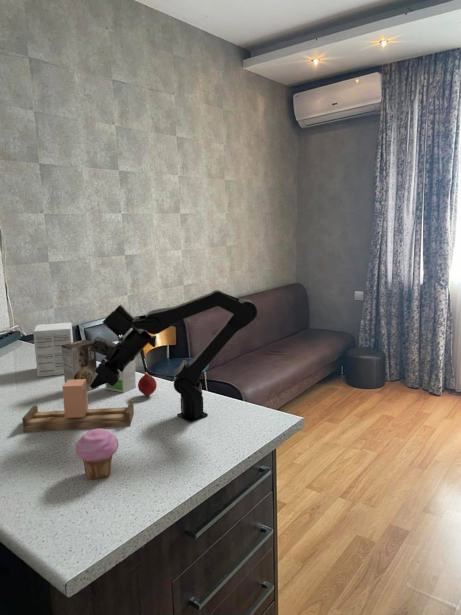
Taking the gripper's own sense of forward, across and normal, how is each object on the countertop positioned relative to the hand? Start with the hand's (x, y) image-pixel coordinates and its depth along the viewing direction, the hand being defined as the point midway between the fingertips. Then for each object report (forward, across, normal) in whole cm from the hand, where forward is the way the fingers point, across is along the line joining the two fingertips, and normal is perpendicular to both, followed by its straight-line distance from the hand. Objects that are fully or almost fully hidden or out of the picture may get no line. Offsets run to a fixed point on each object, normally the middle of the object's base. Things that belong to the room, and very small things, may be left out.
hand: (91, 387), depth 124 cm
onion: (-2, -18, +17) cm, 25 cm away
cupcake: (+2, +29, +12) cm, 31 cm away
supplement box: (+25, -52, -10) cm, 58 cm away
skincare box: (+4, -27, +10) cm, 29 cm away
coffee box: (+14, -28, +1) cm, 31 cm away
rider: (+9, 0, +3) cm, 9 cm away
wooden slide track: (+10, 0, +5) cm, 11 cm away
